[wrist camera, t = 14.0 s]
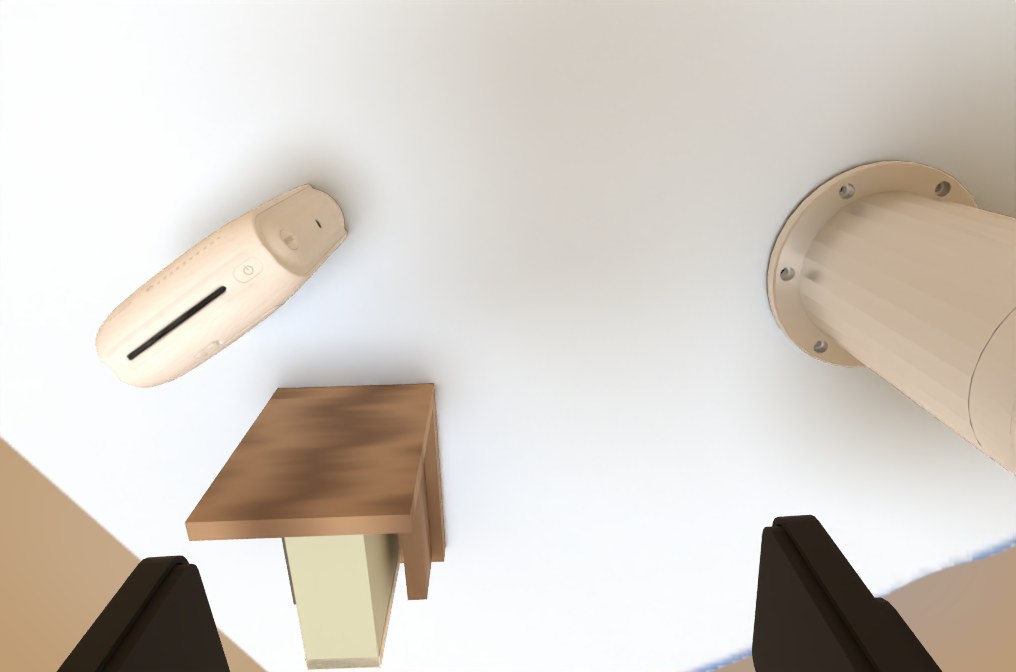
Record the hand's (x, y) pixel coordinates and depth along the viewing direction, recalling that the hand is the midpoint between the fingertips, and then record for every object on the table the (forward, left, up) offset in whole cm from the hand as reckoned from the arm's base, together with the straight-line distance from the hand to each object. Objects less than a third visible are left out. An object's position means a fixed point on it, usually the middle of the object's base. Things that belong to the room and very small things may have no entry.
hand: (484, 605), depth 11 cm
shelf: (+9, +16, -29) cm, 35 cm away
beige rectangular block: (+9, +17, -28) cm, 34 cm away
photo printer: (+13, +1, -29) cm, 32 cm away
